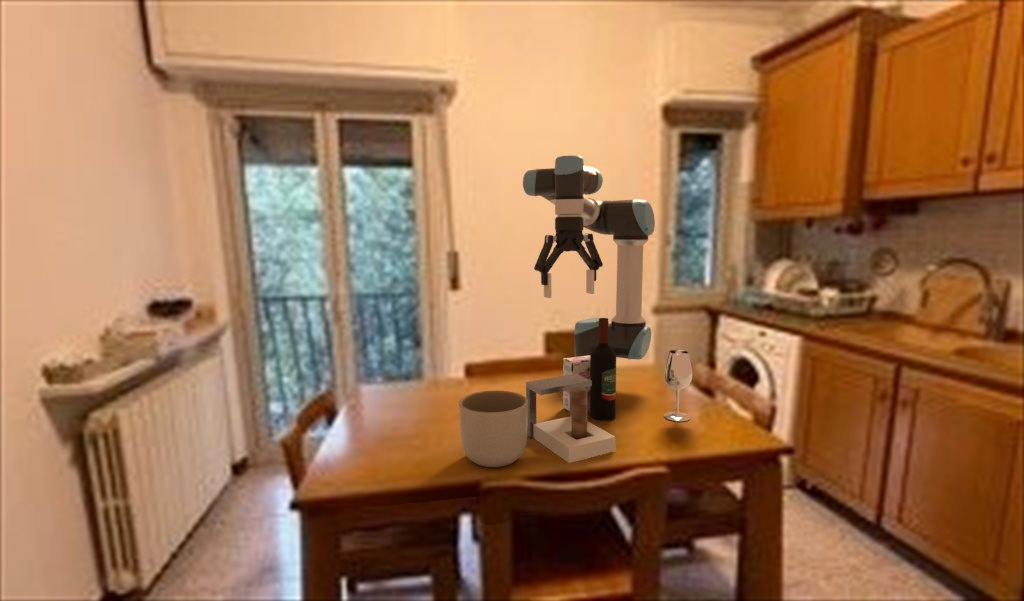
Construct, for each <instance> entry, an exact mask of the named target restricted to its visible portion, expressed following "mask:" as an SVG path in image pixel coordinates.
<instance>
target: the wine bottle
mask: <svg viewBox="0 0 1024 601" xmlns="http://www.w3.org/2000/svg"><path fill="white" fill-rule="evenodd" d="M598 318H599V343H598V346H597V347H596V348H595V349H593V351H592V352H591V355H590V380H591V381H592V386H590V411H589V417H590V419H592V420H593V421H597V422H611V421H614V420H615V419H616V418H617V417H616V416H617V415H616V410H617V409H616V408H617V407H616V406H617V402H616V401H617V357H616V353H615V352H614V350H613V349H612V348H611V347H609V345H608V323H610V320H609V318H608V317H598Z"/></svg>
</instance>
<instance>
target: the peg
mask: <svg viewBox="0 0 1024 601" xmlns="http://www.w3.org/2000/svg"><path fill="white" fill-rule="evenodd" d="M587 421H588V411H587V389H586V388H583V387H575V388H572V438H574V439H576V440H578V439H582V438H586V437H587Z"/></svg>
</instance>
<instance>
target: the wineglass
mask: <svg viewBox="0 0 1024 601" xmlns="http://www.w3.org/2000/svg"><path fill="white" fill-rule="evenodd" d="M667 354H668V355H667V358H666V362H665V368H664V380H665V382H666V383H667V385H668V386H669V387H670V388H672V389H673V390H675V395H676V397H675V398H676V399H675V411H668V412H665V413H664V414H663V417H664V418H665V419H666V420H668V421H672V422H687V421H689V420H690V419H691V416H690V415H689V414H688V413H685V412H681V411H680V410H679V409H680V408H679V407H680V406H679V405H680V404H679V401H680V391H681V390H684V389H685V388H687V387H689V385H690V384H691V382H692V378H693V370H692V369H693V368H692V364H691V357H690V353H689V351H687V350H683V349H671V350H668V353H667Z"/></svg>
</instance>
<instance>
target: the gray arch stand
mask: <svg viewBox="0 0 1024 601" xmlns="http://www.w3.org/2000/svg"><path fill="white" fill-rule="evenodd" d="M590 386H592V381H591V380H589V379H587V378H584V377H582V376H580V375H577V374H571V375H565V376H563V375H560V376H555V377H554V376H553V377H548V378H542V379H536V380H530V381H526V382H525V392H526V394H525V397H526V398H527V400H528V427H527V438H529V439H530V440H531V439H534V438H533V424H536V423H538V422H537V395H539V396H545V395H551V394H556V393H563V391H568V390H570V412H569V417H570V416H572V388H575V387H583V388H584V387H590Z"/></svg>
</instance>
